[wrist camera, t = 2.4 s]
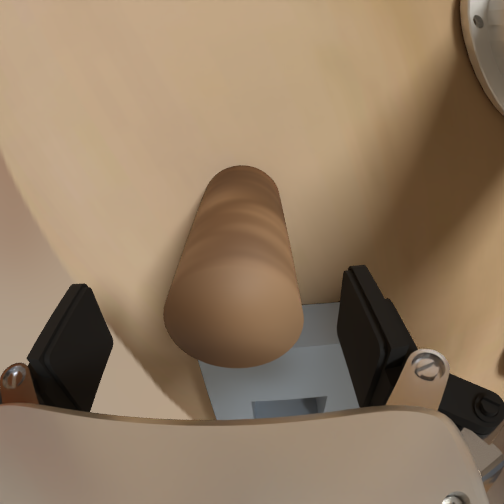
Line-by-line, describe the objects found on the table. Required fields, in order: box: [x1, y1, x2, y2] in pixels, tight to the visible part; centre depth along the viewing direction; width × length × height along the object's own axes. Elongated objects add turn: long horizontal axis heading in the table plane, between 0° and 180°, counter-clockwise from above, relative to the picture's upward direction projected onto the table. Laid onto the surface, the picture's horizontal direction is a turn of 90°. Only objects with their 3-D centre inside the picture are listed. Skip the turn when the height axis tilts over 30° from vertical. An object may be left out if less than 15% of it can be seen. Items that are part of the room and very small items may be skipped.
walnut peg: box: [164, 166, 304, 368], centre depth 14 cm, size 4×4×10 cm
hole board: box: [198, 302, 360, 420], centre depth 25 cm, size 12×18×4 cm, turn 4°
